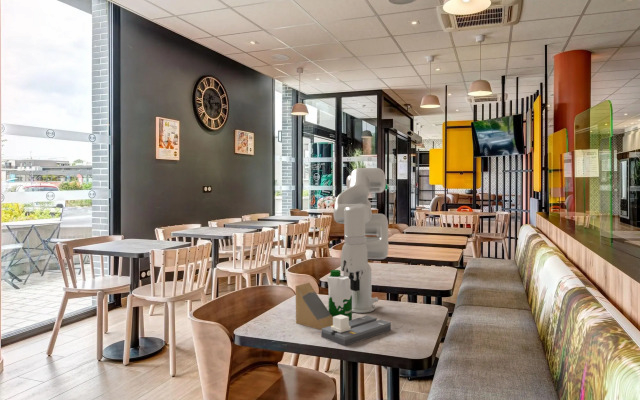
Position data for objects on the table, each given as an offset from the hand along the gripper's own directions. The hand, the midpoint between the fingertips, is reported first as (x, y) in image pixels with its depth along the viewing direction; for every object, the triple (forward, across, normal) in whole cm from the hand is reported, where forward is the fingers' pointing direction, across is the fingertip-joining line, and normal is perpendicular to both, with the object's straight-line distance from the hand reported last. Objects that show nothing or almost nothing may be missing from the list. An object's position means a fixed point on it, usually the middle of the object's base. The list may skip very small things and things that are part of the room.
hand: (355, 290), depth 166 cm
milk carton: (+17, -6, -14) cm, 23 cm away
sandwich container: (+17, +4, -17) cm, 24 cm away
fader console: (+16, 0, +1) cm, 16 cm away
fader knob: (+14, +8, +1) cm, 16 cm away
